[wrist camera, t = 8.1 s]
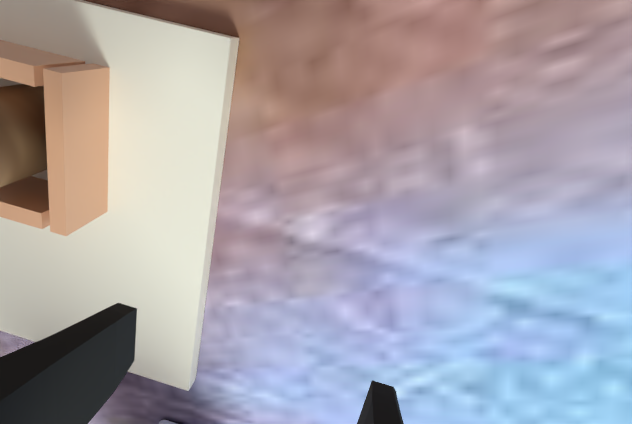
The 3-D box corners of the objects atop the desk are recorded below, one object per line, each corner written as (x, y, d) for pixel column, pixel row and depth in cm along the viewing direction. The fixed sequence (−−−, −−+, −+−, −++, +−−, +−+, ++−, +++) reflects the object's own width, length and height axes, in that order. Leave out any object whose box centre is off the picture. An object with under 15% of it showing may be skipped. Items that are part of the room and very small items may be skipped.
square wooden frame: (107, 211, 23) (66, 236, 20) (-19, 175, 23) (-75, 194, 21) (109, 67, 20) (61, 73, 17) (-34, 31, 20) (-103, 30, 18)
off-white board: (195, 379, 27) (188, 391, 26) (-8, 314, 29) (-22, 323, 28) (239, 38, 19) (230, 38, 18) (-48, -31, 20) (-69, -34, 20)
